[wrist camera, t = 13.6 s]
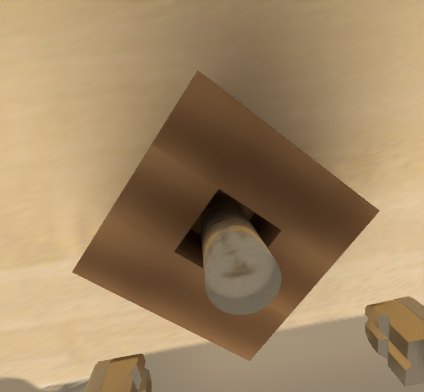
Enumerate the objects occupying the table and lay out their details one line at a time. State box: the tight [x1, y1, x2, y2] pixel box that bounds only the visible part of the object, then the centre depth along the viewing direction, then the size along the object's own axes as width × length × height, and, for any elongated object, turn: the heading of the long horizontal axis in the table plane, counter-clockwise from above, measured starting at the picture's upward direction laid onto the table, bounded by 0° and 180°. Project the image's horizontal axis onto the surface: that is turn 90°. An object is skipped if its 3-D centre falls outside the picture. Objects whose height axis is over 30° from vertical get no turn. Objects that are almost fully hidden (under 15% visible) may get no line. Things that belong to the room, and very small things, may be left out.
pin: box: [199, 193, 281, 315], centre depth 18 cm, size 4×4×11 cm
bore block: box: [73, 71, 379, 360], centre depth 21 cm, size 16×16×8 cm
